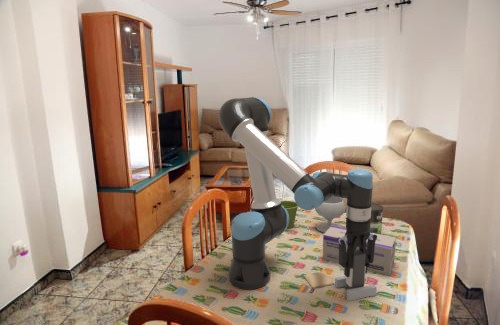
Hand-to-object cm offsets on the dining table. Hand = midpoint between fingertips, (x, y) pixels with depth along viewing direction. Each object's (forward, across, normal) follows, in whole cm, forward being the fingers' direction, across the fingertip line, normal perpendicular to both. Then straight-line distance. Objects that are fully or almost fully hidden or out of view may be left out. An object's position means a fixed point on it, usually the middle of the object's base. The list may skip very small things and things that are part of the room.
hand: (355, 283), depth 112 cm
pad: (+3, -9, +9) cm, 13 cm away
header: (+3, 0, 0) cm, 3 cm away
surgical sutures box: (+3, +12, +17) cm, 21 cm away
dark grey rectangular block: (+3, 0, 0) cm, 3 cm away
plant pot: (+3, -2, +58) cm, 58 cm away
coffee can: (+3, +30, +36) cm, 47 cm away
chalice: (+3, +16, +48) cm, 51 cm away
